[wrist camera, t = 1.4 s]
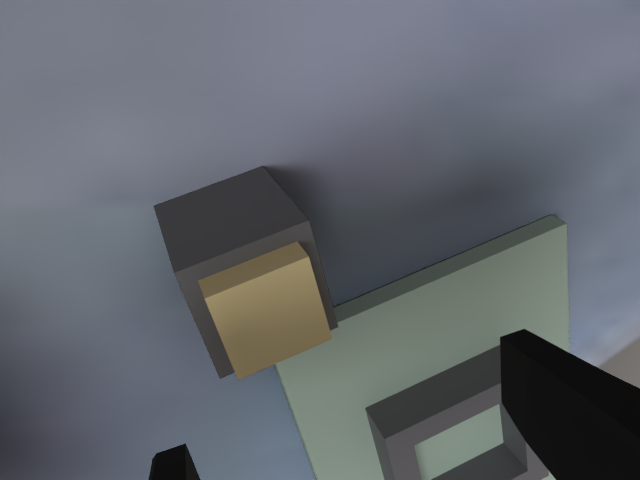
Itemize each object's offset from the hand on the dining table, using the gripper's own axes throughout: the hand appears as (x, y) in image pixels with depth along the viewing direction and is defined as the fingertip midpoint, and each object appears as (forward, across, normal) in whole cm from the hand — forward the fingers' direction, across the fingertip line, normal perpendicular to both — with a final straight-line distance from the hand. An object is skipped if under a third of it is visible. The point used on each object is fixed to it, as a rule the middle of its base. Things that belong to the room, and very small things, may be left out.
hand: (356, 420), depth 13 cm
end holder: (+11, -6, +14) cm, 19 cm away
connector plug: (+10, +1, 0) cm, 11 cm away
